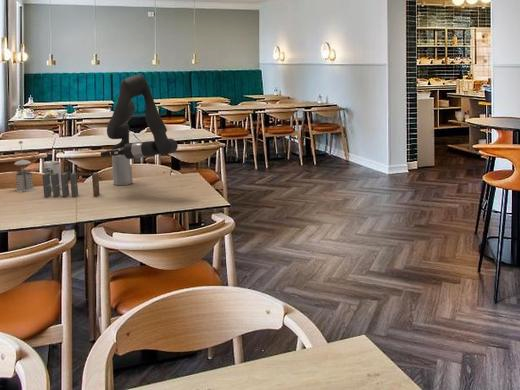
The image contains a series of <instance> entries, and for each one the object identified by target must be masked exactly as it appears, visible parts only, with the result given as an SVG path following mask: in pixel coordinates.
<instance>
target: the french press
mask: <svg viewBox="0 0 520 390" xmlns="http://www.w3.org/2000/svg"><path fill="white" fill-rule="evenodd" d="M23 143H24V142H23V141H22V140H19V141H18V144H20V145H22V144H23ZM20 150H21V154H23V150H22V147H20ZM31 164H32V162H31V161H30V160H28V159H23V157H21V159H20V160H18V161H17V160H16V161H15V162H14V164H13V165H14V166H22V167H21V169H20V170H16V171H15V172H16V174H15V180H16V181H15V182H16V188H15V190H16V191H15V192H18V191H24V192H31V191H35V190H36V187H34V181H33V180H34V179H33V173H32V170H31V169H27V168H26V166H27V165H31ZM23 166H24V167H23Z"/></svg>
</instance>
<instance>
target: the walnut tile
mask: <svg viewBox="0 0 520 390" xmlns="http://www.w3.org/2000/svg"><path fill="white" fill-rule="evenodd" d="M99 179H100V178H99V172H98V171H96V172H95V171H94V172H92V174H91V180H92V194H93V195H92V196H93V197H95V198H96V197H99V195H100V183H99V181H100V180H99Z"/></svg>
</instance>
